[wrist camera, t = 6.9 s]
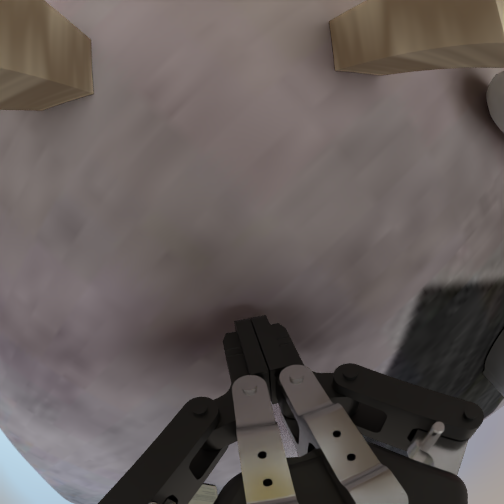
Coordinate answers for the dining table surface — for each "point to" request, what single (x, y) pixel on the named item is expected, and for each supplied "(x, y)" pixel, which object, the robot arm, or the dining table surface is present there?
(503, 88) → the donut
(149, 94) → the dining table surface
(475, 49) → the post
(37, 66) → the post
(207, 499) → the skincare box
